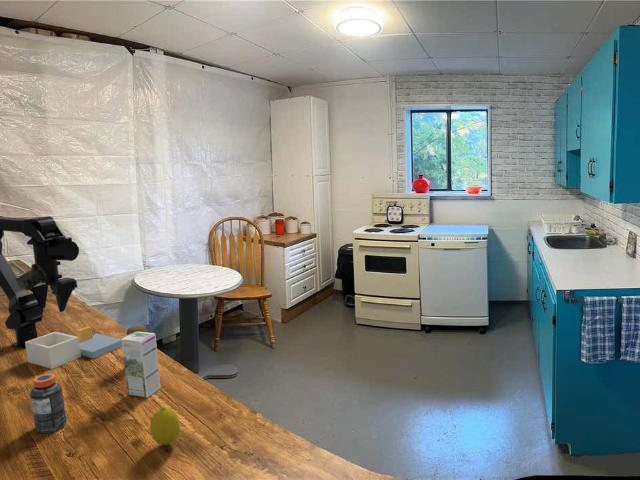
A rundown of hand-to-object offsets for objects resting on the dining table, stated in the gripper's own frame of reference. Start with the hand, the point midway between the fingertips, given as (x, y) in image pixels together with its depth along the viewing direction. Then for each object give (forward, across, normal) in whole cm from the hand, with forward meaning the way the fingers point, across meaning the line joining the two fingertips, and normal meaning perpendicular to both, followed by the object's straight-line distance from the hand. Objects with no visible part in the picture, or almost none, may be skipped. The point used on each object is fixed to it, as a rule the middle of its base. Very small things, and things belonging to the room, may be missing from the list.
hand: (52, 309), depth 149 cm
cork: (+12, +34, +2) cm, 36 cm away
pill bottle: (+12, +42, -29) cm, 53 cm away
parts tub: (+12, +8, -6) cm, 16 cm away
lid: (+12, +12, +4) cm, 17 cm away
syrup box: (+12, +48, -9) cm, 50 cm away
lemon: (+12, +70, -23) cm, 75 cm away
